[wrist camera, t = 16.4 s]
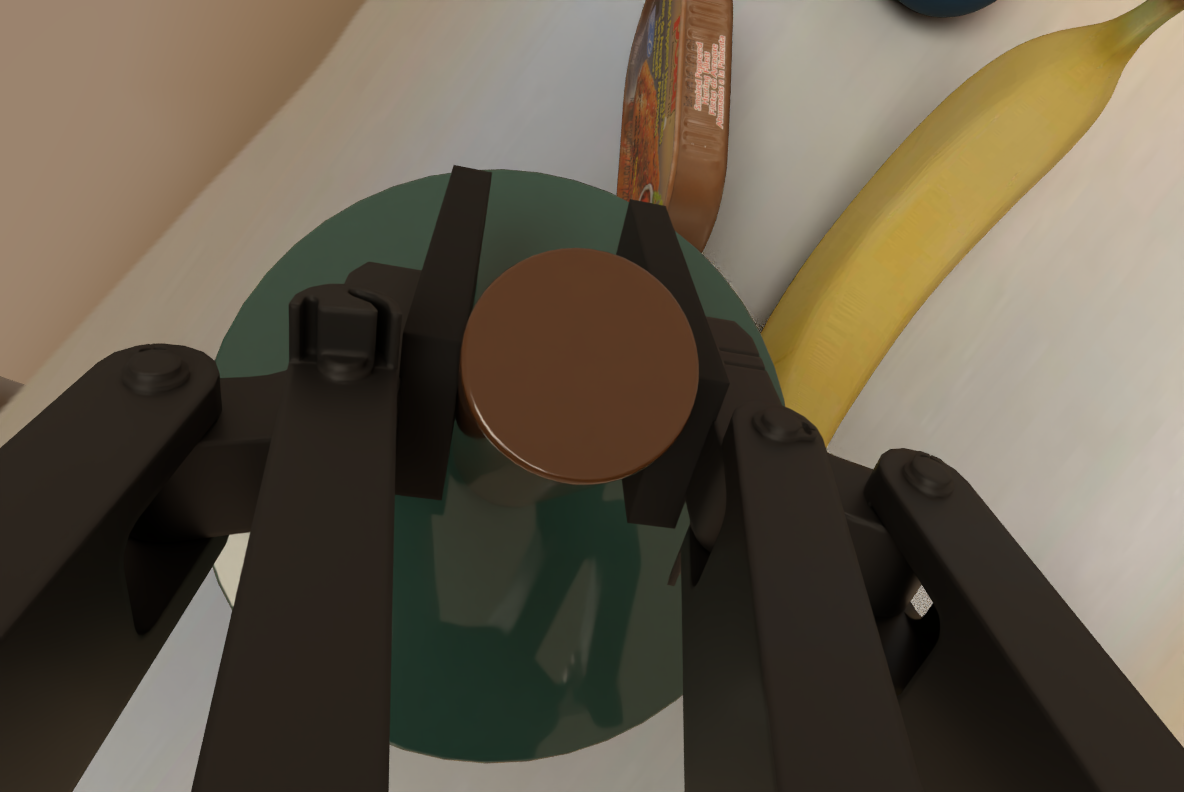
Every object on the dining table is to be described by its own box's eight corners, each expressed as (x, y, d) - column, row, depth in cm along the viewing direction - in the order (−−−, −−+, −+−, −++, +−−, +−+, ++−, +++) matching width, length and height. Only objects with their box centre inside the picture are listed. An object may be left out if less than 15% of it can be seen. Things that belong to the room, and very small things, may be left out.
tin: (628, 31, 41) (674, -93, 33) (684, 42, 41) (743, -77, 33) (607, 298, 38) (652, 235, 30) (668, 306, 39) (728, 247, 30)
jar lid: (128, 693, 16) (-374, 949, 6) (304, 126, 19) (149, -311, 9) (727, 791, 18) (1064, 1103, 8) (806, 265, 21) (1127, 28, 11)
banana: (749, 535, 37) (1077, 541, 18) (655, 466, 37) (885, 397, 18) (953, 202, 43) (1370, -66, 24) (872, 139, 43) (1228, -183, 23)
